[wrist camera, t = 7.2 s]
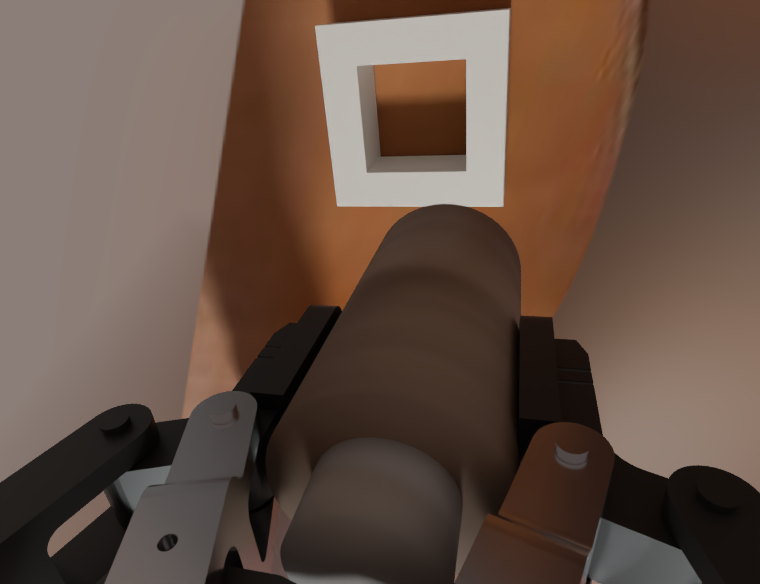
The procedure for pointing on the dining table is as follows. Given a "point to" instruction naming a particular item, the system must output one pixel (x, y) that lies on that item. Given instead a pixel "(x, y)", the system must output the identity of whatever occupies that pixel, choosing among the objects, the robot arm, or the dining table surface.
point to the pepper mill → (406, 410)
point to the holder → (360, 120)
